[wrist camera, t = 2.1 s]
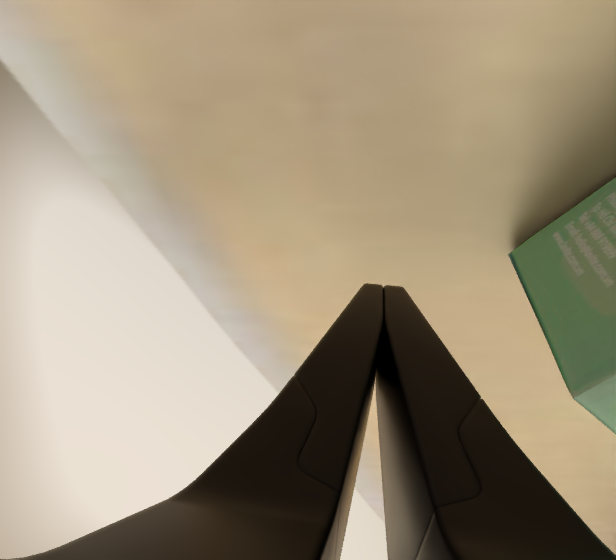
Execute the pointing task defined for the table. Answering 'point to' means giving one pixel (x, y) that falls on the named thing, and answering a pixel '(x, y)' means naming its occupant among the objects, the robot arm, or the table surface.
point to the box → (578, 297)
